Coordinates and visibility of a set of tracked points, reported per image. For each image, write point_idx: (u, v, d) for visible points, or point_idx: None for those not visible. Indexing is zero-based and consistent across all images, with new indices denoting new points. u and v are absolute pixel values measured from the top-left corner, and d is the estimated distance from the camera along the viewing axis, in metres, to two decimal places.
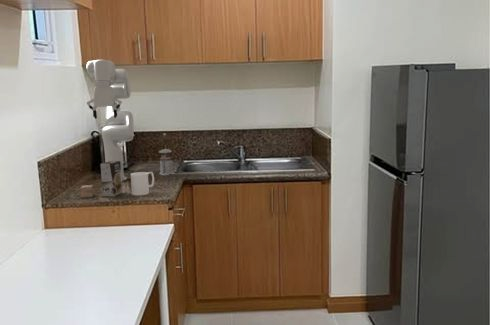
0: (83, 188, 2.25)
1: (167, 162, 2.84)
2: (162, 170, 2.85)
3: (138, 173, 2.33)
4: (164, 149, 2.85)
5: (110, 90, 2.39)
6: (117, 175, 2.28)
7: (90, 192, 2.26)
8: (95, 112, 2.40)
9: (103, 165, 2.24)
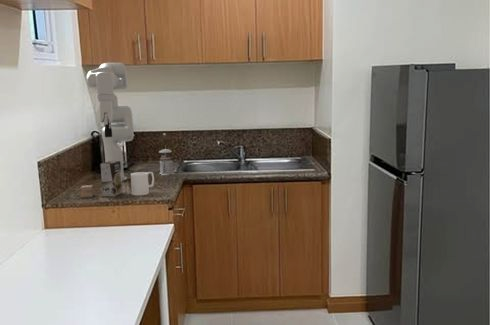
0: (83, 188, 2.25)
1: (167, 162, 2.84)
2: (162, 170, 2.85)
3: (138, 173, 2.33)
4: (164, 149, 2.85)
5: None
6: (117, 175, 2.28)
7: (90, 192, 2.26)
8: (111, 130, 2.26)
9: (103, 165, 2.24)
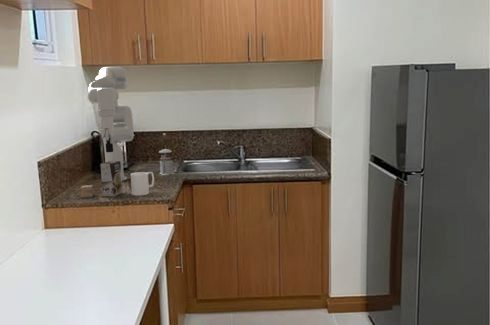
0: (83, 188, 2.25)
1: (167, 162, 2.84)
2: (162, 170, 2.85)
3: (138, 173, 2.33)
4: (164, 149, 2.85)
5: None
6: (117, 175, 2.28)
7: (90, 192, 2.26)
8: None
9: (103, 165, 2.24)
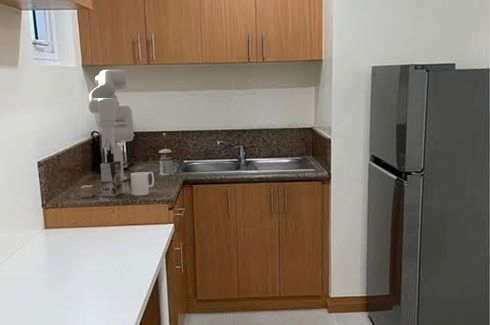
0: (83, 188, 2.25)
1: (167, 162, 2.84)
2: (162, 170, 2.85)
3: (138, 173, 2.33)
4: (164, 149, 2.85)
5: None
6: (117, 175, 2.28)
7: (90, 192, 2.26)
8: (113, 155, 2.28)
9: (103, 165, 2.24)
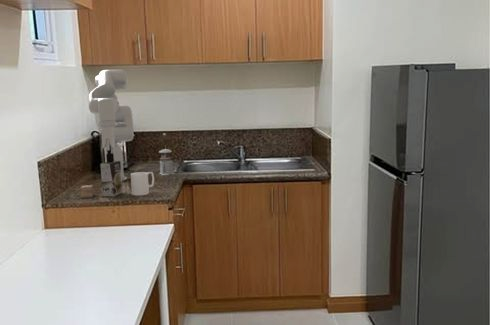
0: (83, 188, 2.25)
1: (167, 162, 2.84)
2: (162, 170, 2.85)
3: (138, 173, 2.33)
4: (164, 149, 2.85)
5: None
6: (117, 175, 2.28)
7: (90, 192, 2.26)
8: (113, 155, 2.28)
9: (103, 165, 2.24)
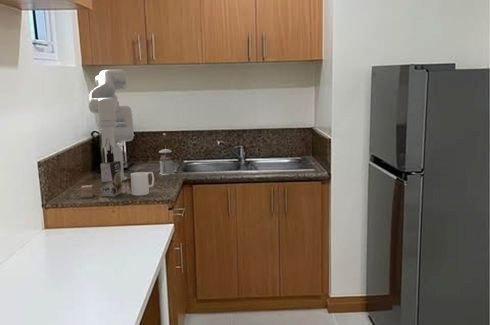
0: (83, 188, 2.25)
1: (167, 162, 2.84)
2: (162, 170, 2.85)
3: (138, 173, 2.33)
4: (164, 149, 2.85)
5: None
6: (117, 175, 2.28)
7: (90, 192, 2.26)
8: (113, 155, 2.28)
9: (103, 165, 2.24)
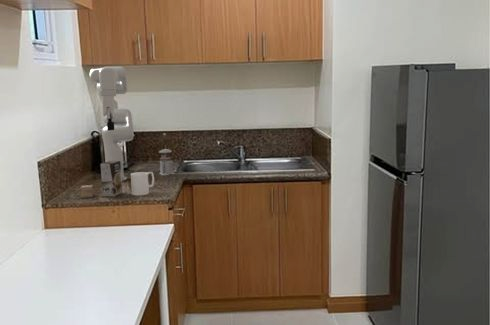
0: (83, 188, 2.25)
1: (167, 162, 2.84)
2: (162, 170, 2.85)
3: (138, 173, 2.33)
4: (164, 149, 2.85)
5: None
6: (117, 175, 2.28)
7: (90, 192, 2.26)
8: (113, 123, 2.37)
9: (103, 165, 2.24)
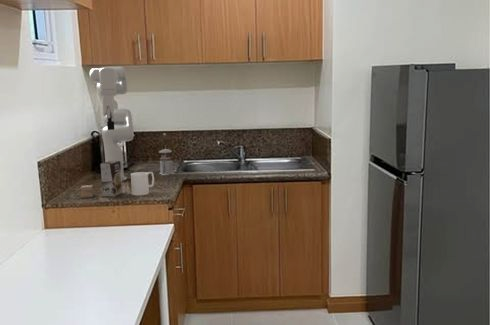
0: (83, 188, 2.25)
1: (167, 162, 2.84)
2: (162, 170, 2.85)
3: (138, 173, 2.33)
4: (164, 149, 2.85)
5: None
6: (117, 175, 2.28)
7: (90, 192, 2.26)
8: (113, 123, 2.37)
9: (103, 165, 2.24)
